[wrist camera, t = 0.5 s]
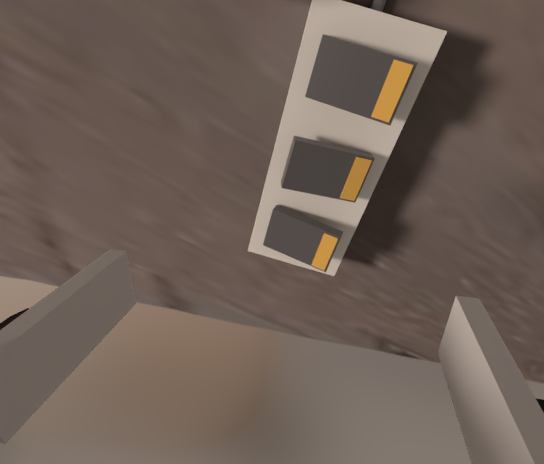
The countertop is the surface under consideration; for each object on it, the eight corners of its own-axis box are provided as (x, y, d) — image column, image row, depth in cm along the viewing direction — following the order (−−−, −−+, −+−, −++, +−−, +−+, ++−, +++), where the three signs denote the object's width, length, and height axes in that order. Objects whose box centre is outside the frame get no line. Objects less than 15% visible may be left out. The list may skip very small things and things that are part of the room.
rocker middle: (293, 135, 28) (295, 140, 27) (370, 152, 29) (375, 158, 28) (280, 181, 30) (281, 188, 29) (351, 196, 31) (355, 203, 30)
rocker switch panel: (344, -112, 24) (346, -135, 20) (478, -73, 24) (502, -89, 20) (254, 232, 40) (247, 250, 37) (333, 255, 40) (334, 276, 37)
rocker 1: (277, 204, 33) (272, 209, 32) (343, 231, 32) (340, 237, 31) (266, 239, 36) (262, 245, 34) (328, 266, 34) (325, 273, 33)
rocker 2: (326, 34, 25) (322, 34, 24) (417, 62, 24) (418, 62, 23) (308, 95, 27) (304, 97, 26) (391, 122, 26) (390, 126, 25)
